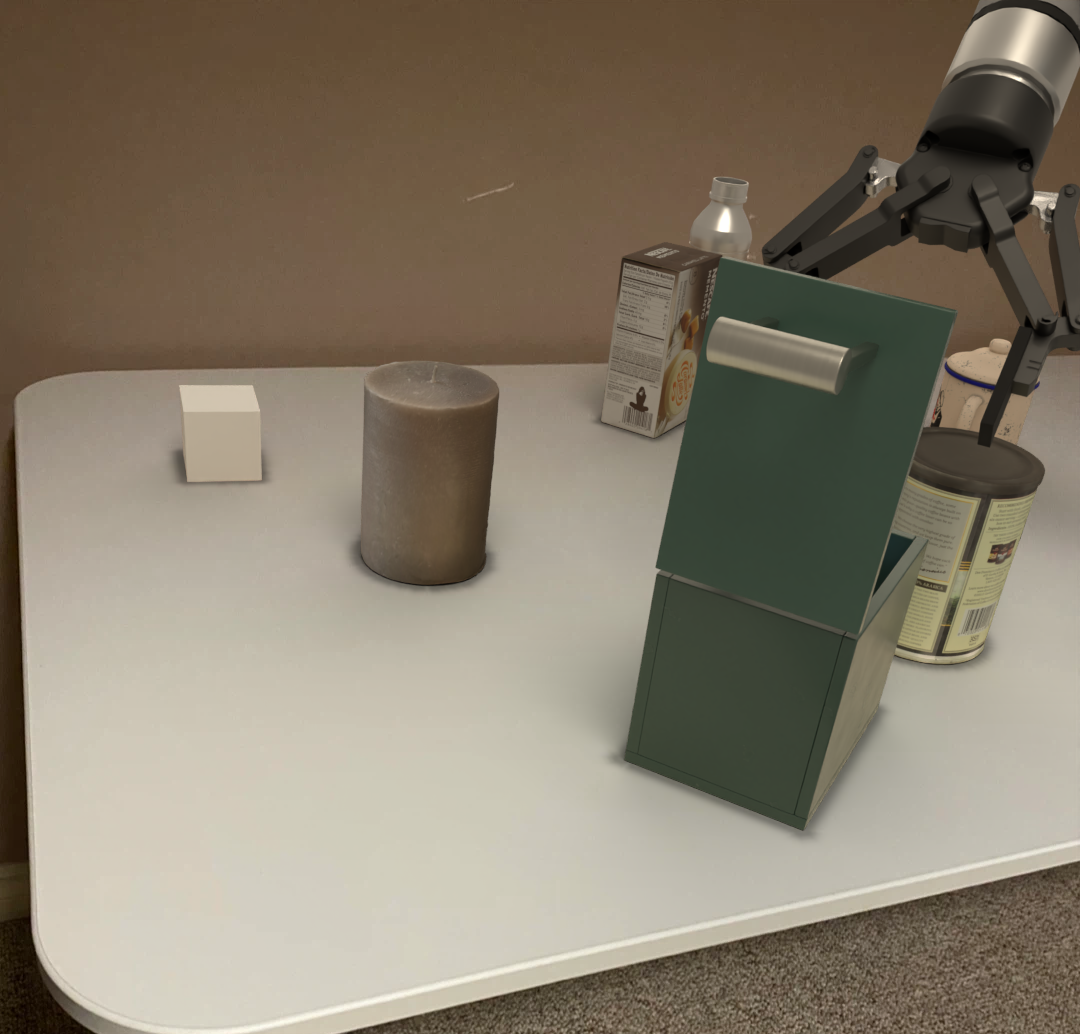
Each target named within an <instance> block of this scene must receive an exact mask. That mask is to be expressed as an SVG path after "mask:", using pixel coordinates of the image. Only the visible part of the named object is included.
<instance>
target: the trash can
mask: <svg viewBox="0 0 1080 1034" xmlns="http://www.w3.org/2000/svg"><path fill="white" fill-rule="evenodd" d="M928 542H929V539H926V538H923V537H920V536H916V535H913V534H910V533H907V532H903V531H900V530H897V529H892V532H891V535H890V539H889V542H888V545H887V549H886V552H885V555H884V558H883V562H882V565H881V568H880V572H879V575H878V578H877V582H876V585H875V588H874V591H873V595H872V598H871V601H870V605H869V608H868V611H867V615H866V618H865V621H864V624H863V628H862V631H861V632H860V633H859V634H858V635H856V634H853V633H850V632H847V631H844V630H841V629H838V628H834V627H831V626H828V625H825V624H822V623H819V622H816V621H813V620H810V619H807V618H804V617H801V616H798V615H795V614H792V613H789V612H786V611H783V610H780V609H777V608H774V607H771V606H768V605H765V604H762V603H759V602H756V601H753V600H750V599H747V598H744V597H741V596H738V595H735V594H732V593H729V592H726V591H723V590H720V589H717V588H714V587H711V586H708V585H705V584H702V583H699V582H696V581H693V580H690V579H687V578H684V577H681V576H678V575H675V574H672V573H669V572H666V571H663V570H660V569H659V571H658V572H656V575H655V580H654V585H653V591H652V597H651V598H652V599H651V603H650V607H649V608H650V609H649V613H648V614H649V615H648V619H647V627H646V631H645V632H646V633H645V636H644V644H643V649H642V654H641V660H640V661H641V662H640V665H639V666H640V667H639V672H638V678H637V683H636V688H635V695H634V700H633V706H632V711H631V717H630V724H629V728H628V734H627V740H626V747H625V752H624V759H623V761H625V762H628V763H631V764H633V765H636V766H638V767H641V768H642V769H646V770H648V771H651V772H653V773H656V774H658V775H661V776H664V777H666V778H669V779H671V780H674V781H676V782H679V783H682V784H684V785H686V786H689V787H690V788H694V789H697V790H698V791H702V792H705V793H706V794H708V795H711V796H713V797H716V798H720V799H722V800H724V801H727V802H730V803H732V804H735V805H737V806H740V807H742V808H745V809H747V810H749V811H753V812H754V813H757V814H760V815H762V816H765V817H768V818H770V819H773V820H775V821H778V822H780V823H783V824H786V825H788V826H791V827H793V828H796V829H797V830H801V831H805V829H806V828H807V827H808V825H809V823H810V821H811V820H812V818H813V816H814V815H815V813H816V812H817V810H818V809H819V807H820V805H821V803H822V801H823V800H824V798H825V797H826V795H827V794H828V792H829V790H830V788H831V787H832V785H833V783H834V782H835V780H836V779H837V777H838V776H839V774H840V772H841V770H842V769H843V767H844V766H845V764H846V762H847V761H848V759H849V758H850V756H851V754H852V753H853V751H854V749H855V748H856V746H857V744H858V743H859V741H860V739H861V738H862V736H863V735H864V733H865V732H866V730H867V728H868V726H869V725H870V723H871V721H872V720H873V718H874V717H875V715H876V713H877V712H878V709H879V706H880V702H881V699H882V696H883V692H884V689H885V687H886V682H887V680H888V676H889V673H890V670H891V666H892V662H893V659H894V656H895V655H894V653H895V650H896V647H897V643H898V640H899V637H900V633H901V630H902V627H903V624H904V620H905V617H906V614H907V611H908V607H909V604H910V601H911V597H912V594H913V591H914V588H915V584H916V581H917V578H918V574H919V571H920V568H921V565H922V561H923V558H924V555H925V551H926V548H927V545H928Z"/></svg>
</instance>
